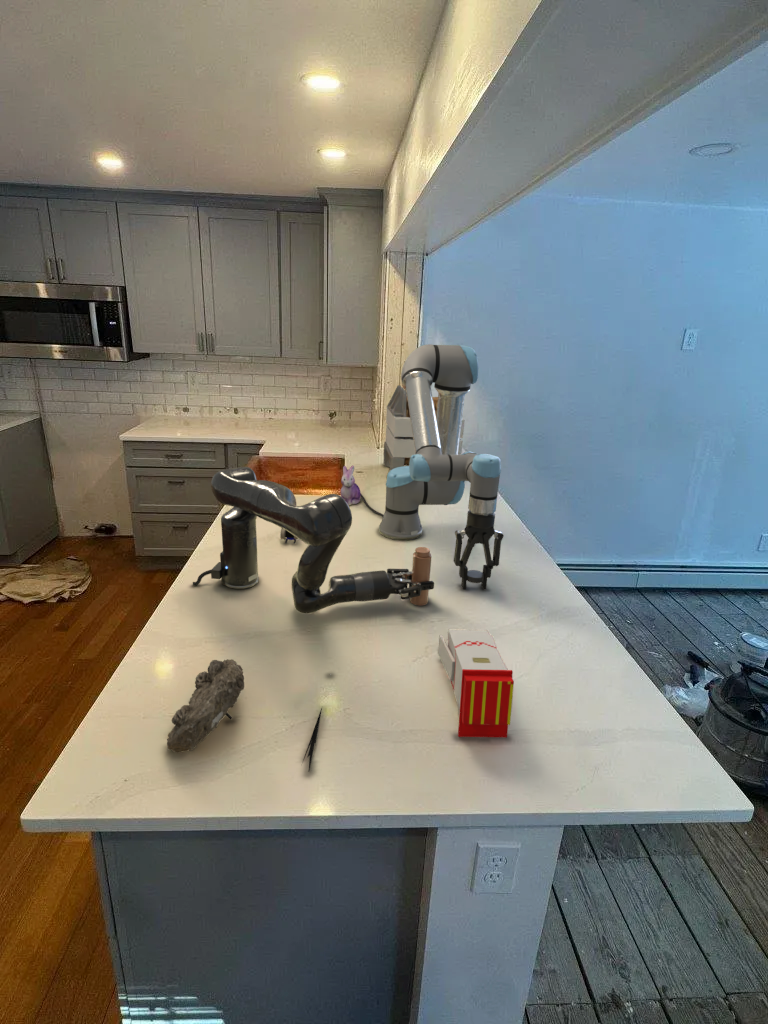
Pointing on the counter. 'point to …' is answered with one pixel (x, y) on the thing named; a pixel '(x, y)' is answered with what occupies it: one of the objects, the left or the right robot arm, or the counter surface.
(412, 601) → the jar
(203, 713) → the fossil
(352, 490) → the figurine
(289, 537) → the figurine character
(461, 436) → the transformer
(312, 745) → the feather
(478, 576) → the lid
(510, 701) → the toy
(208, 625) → the counter surface
